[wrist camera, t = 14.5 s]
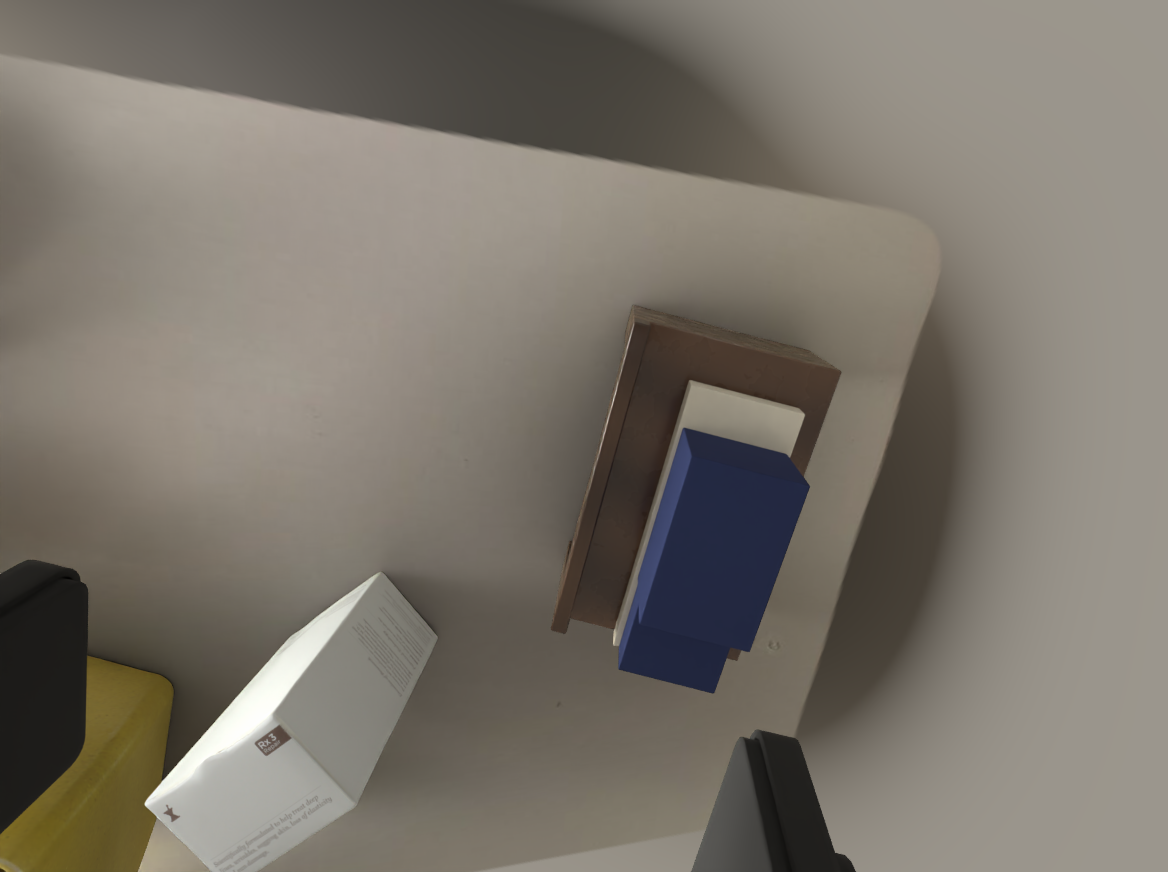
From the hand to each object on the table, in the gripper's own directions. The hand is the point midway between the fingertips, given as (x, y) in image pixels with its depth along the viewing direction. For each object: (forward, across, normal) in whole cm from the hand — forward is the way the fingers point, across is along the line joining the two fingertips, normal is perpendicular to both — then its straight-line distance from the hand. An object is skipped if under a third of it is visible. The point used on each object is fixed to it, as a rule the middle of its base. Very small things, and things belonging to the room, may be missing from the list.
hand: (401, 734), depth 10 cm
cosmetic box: (+31, +9, +20) cm, 38 cm away
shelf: (+31, -7, +5) cm, 32 cm away
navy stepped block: (+25, -8, +6) cm, 27 cm away
